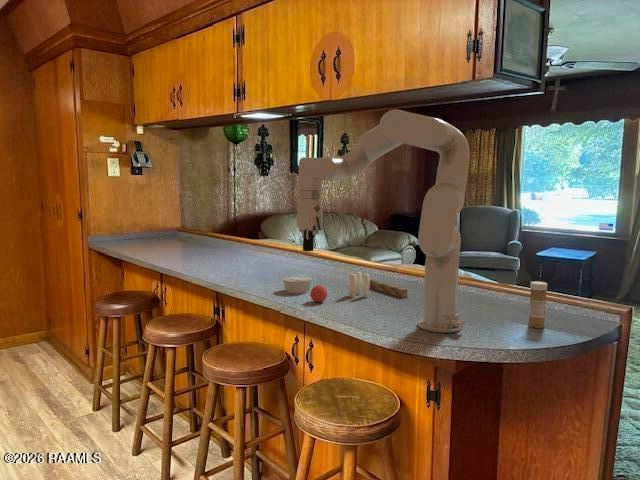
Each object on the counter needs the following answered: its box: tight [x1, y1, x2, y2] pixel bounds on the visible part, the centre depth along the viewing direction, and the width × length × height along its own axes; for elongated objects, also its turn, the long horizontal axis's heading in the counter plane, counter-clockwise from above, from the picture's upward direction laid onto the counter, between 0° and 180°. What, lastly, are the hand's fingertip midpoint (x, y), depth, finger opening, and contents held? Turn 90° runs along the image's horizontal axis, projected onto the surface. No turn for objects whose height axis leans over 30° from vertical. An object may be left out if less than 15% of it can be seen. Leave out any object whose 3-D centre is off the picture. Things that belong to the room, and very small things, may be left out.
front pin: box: [349, 273, 357, 299], centre depth 181 cm, size 2×2×8 cm
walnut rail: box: [369, 278, 408, 299], centre depth 190 cm, size 22×2×3 cm, turn 32°
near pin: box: [362, 273, 371, 298], centre depth 181 cm, size 2×2×8 cm
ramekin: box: [283, 275, 313, 295], centre depth 190 cm, size 11×11×5 cm
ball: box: [310, 285, 328, 303], centre depth 173 cm, size 6×6×6 cm
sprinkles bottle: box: [528, 280, 548, 329], centre depth 144 cm, size 5×5×13 cm
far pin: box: [354, 271, 362, 296], centre depth 185 cm, size 2×2×8 cm
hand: (308, 250), depth 161 cm, fingers closed
